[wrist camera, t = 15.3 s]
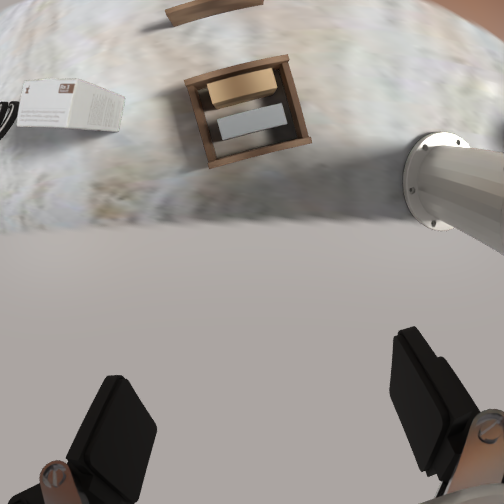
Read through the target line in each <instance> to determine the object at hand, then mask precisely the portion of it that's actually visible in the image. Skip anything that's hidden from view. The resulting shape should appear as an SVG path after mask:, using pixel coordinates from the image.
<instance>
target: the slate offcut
mask: <svg viewBox="0 0 504 504" xmlns="http://www.w3.org/2000/svg"><path fill="white" fill-rule="evenodd" d="M217 122H218V125H219V129H220V133H221V136H222V140H228V139H232V138H235V137H239V136H243V135H247V134H250V133H254V132H258V131H262V130H267V129H271V128H275V127H279V126H283V125H285V124H287V120H286V117H285V113H284V109H283V106H282V103H280V104H275V105H271V106H266V107H262V108H258V109H254V110H250V111H246V112H242V113H238V114H234V115H230V116H227V117H223V118H220V119H217Z"/></svg>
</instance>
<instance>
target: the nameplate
mask: <svg viewBox="0 0 504 504" xmlns="http://www.w3.org/2000/svg"><path fill="white" fill-rule="evenodd" d="M19 104H20V102H17V101H12V102H10V103H9V107H8V102H0V140H1V139H2V138H3V137H4V135H5V134H6V133H7V132H8V130H9V129H10V128H11V126H12V125H13V123H14V121H15V119H16V118H17V115H18V109H19ZM8 108H10V111H9V113H8V115H7V117H6V118H5V120H4V122H3V119H4V117H5V114H6V112H7V109H8ZM2 122H3V123H2ZM1 124H2V125H1Z"/></svg>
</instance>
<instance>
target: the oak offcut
mask: <svg viewBox="0 0 504 504" xmlns="http://www.w3.org/2000/svg"><path fill="white" fill-rule="evenodd" d="M207 86H208V90H209V94H210V97H211V101H212V104H213V105H214V106H215V108H216V109H220V108H224V107H228V106H231V105H235V104H239V103H243V102H247V101H251V100H255V99H259V98H263V97H268V96H272V95H273V94H274V92H275V91H276V89H277V84H276V81H275V77H274V74H273V71H272V68H269V69H264V70H260V71H255V72H251V73H247V74H242V75H238V76H234V77H231V78H227V79H223V80H219V81H216V82H212V83H209V84H207Z"/></svg>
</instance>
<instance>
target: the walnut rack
mask: <svg viewBox="0 0 504 504" xmlns="http://www.w3.org/2000/svg"><path fill="white" fill-rule="evenodd" d="M263 1H264V0H195V1H191V2H188V3H185V4H181V5H178V6H175V7H172V8H169V9H166V10H165V12H166V15H167V17H168V18H169V20H170V21H171V23H172V24H173V26H174V27H175V26H178V25H181V24H185V23H188V22H191V21H194V20H198V19H201V18H205V17H209V16H212V15H216V14H220V13H224V12H228V11H233V10H237V9H242V8H247V7H252V6H257V5H263ZM288 61H289V57H288V54H287V55H281V56H276V57H271V58H266V59H261V60H256V61H252V62H247V63H243V64H239V65H235V66H231V67H227V68H223V69H220V70H216V71H213V72H209V73H206V74H202V75H199V76H196V77H192V78H189V79H186V80H184V82H185V86H186V87H187V88H188V92H189V95H190V99H191V102H192V106H193V110H194V113H195V117H196V120H197V124H198V127H199V131H200V134H201V138H202V141H203V145H204V148H205V152H206V155H207V158H208V162H209V163H208V167H209V169H212V168H215V167H218V166H222V165H226V164H229V163H233V162H236V161H240V160H244V159H248V158H251V157H255V156H259V155H263V154H267V153H271V152H275V151H279V150H284V149H288V148H292V147H296V146H301V145H305V144H310V143H312V140H311V137H309V136H308V132H307V128H306V125H305V121H304V117H303V113H302V109H301V106H300V102H299V98H298V95H297V91H296V88H295V84H294V81H293V77H292V74H291V71H290V67H289V64H288ZM269 68H272V71H275V70H279V73H280V76H281V80H282V83H283V87H284V90H285V94H286V97H287V101H288V104H289V108H290V112H291V115H292V119H293V123H294V127H295V131H296V134H297V139H293V140H288V141H284V142H280V143H276V144H271V145H267V146H263V147H259V148H255V149H251V150H248V151H244V152H240V153H236V154H233V155H229V156H226V157H222V158H219V159H217V157H216V153H215V150H214V146H213V143H212V139H211V136H210V132H209V129H208V125H207V122H206V118H205V115H204V111H203V108H202V104H201V101H200V97H199V94H198V90H200V89H203V88H207V87H208V86H207V84H209V83H212V82H216V81H219V80H223V79H227V78H231V77H234V76H238V75H242V74H247V73H251V72H255V71H260V70H264V69H269Z"/></svg>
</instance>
